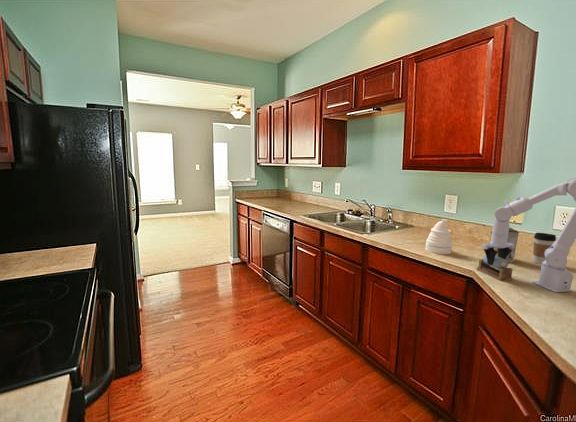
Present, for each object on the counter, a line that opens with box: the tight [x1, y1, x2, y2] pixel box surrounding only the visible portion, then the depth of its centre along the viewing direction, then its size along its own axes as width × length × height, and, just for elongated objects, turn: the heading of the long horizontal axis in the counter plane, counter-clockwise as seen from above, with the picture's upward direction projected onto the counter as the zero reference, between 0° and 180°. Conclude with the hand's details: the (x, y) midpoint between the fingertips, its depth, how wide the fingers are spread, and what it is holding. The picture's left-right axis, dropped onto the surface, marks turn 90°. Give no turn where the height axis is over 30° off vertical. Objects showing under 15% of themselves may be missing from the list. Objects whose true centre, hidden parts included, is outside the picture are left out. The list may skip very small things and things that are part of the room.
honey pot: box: [425, 218, 453, 255], centre depth 167 cm, size 13×13×18 cm
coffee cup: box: [532, 232, 557, 265], centre depth 151 cm, size 8×8×15 cm
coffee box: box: [495, 227, 520, 263], centre depth 155 cm, size 9×6×16 cm
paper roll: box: [482, 254, 509, 270], centre depth 134 cm, size 8×5×5 cm, turn 10°
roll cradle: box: [476, 258, 513, 282], centre depth 134 cm, size 6×13×5 cm, turn 10°
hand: (495, 263), depth 134 cm, fingers closed on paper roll, 5 cm apart
